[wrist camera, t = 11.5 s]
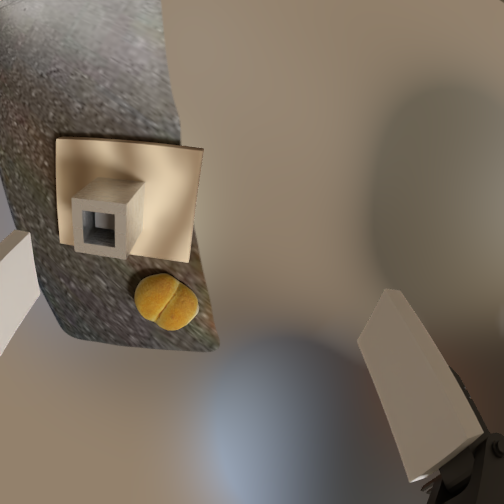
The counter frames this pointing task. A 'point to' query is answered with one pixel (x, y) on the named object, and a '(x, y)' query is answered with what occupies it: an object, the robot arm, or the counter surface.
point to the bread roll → (166, 301)
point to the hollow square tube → (111, 202)
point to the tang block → (136, 169)
